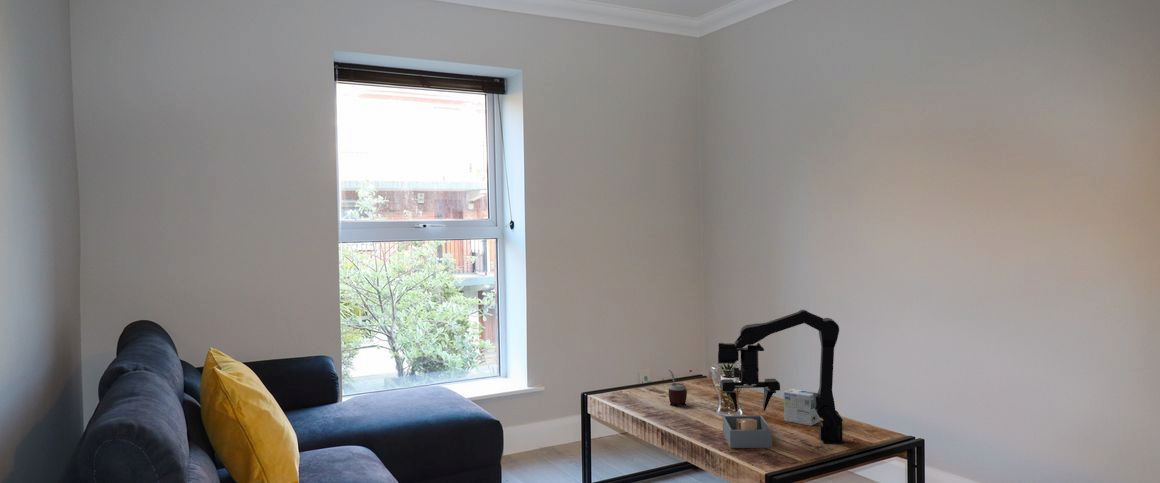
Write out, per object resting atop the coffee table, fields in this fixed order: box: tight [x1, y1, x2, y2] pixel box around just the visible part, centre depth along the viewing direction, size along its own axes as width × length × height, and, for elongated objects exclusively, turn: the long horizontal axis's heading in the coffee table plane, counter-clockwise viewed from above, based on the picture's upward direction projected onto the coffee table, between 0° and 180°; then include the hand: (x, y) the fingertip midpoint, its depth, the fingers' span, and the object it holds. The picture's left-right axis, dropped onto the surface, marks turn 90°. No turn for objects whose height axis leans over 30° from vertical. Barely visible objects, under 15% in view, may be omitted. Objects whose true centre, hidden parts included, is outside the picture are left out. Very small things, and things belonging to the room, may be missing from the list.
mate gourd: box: [668, 369, 688, 408], centre depth 296 cm, size 8×8×15 cm
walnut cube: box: [736, 419, 742, 430], centre depth 253 cm, size 5×5×5 cm
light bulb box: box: [783, 388, 821, 427], centre depth 270 cm, size 11×7×11 cm, turn 47°
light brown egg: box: [741, 418, 757, 430], centre depth 246 cm, size 5×5×7 cm
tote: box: [722, 415, 773, 449], centre depth 250 cm, size 13×17×6 cm
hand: (750, 410), depth 251 cm, fingers open, 9 cm apart
